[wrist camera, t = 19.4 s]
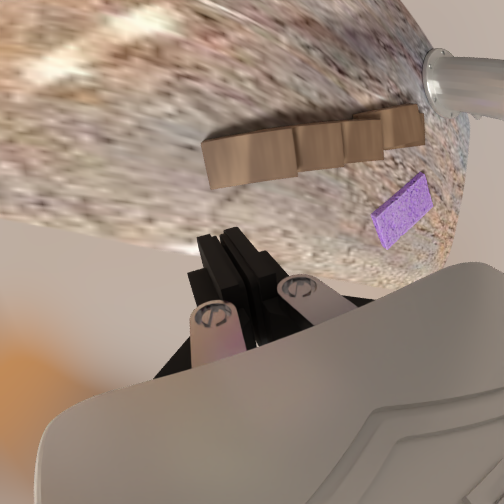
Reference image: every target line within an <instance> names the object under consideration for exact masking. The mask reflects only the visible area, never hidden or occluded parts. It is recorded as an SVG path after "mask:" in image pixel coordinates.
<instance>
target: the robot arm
mask: <svg viewBox="0 0 504 504" xmlns="http://www.w3.org/2000/svg"><path fill="white" fill-rule="evenodd" d="M423 84H424V89H425V93H426V96H427V98H428V101H429V103H430V105H431V106H432V108H433V109H434V111H435V112H436V113H437V114H438V115H440V116H441V117H443V118H448V119H452V118H455V117H457V116H458V115H459V114H460V112H465V113H470V114H471V115H472V116H473V117H474V118H475V119H477V120H478V119H480V118H481V117H482V116H486V117H490V118H495V119H499V120H504V60H499V59H488V58H470V57H469V58H468V57H454V56H453V55H452V54H451V53H450V52H448V51H447V50H445V49H441V48H437V49H432V50H431V51H429V52H428V54H427V55H426V57H425V60H424V64H423ZM220 242H221V243H220ZM220 242H219V240H218V238H217V237H216V236H213V237H211V235H210V234H207V235H203V236H200V237H197V243H198V247H199V251H200V255H201V259H202V263H203V267H204V268H202V269H200V270H196V271H192V272H189V273H187V274H188V278H189V281H190V285H191V288H192V292H193V295H194V298H195V301H196V304H197V308H196V309H194V310H193V312H192V314H191V316H190V337H189V338H188V339H187V340H186V341H185V342H184V343H183V345H182V346H181V347H180V348H179V349H178V351H177V352H176V353H175V354H174V355H173V356H172V357H171V359H170V360H169V361H168V362H167V363H166V365H165V366H164V367H163V368H162V369H161V371H160V372H159V373H158V374H157V375H156V376H155V377H154V378H153V380H149V381H146V382H142V383H138V384H135V385H131V386H127V387H123V388H120V389H116V390H112V391H109V392H106V393H103V394H99V395H96V396H93V397H91V398H89V399H87V400H84V401H82V402H79V403H77V404H75V405H74V406H72V407H70V408H69V409H67V410H65V411H64V412H62V413H61V414H59V415H58V416H57V417H55V418H54V419H53V420H52V421H51V422H50V423H49V424H48V426H47V427H46V429H45V431H44V433H43V435H42V438H41V441H40V444H39V448H38V453H37V459H36V466H35V476H34V504H504V273H502V272H501V271H499V270H497V269H495V268H493V267H492V266H490V265H487V264H485V263H480V262H468V263H460V264H456V265H452V266H449V267H446V268H444V269H441V270H439V271H437V272H434V273H432V274H430V275H428V276H426V277H424V278H421V279H419V280H417V281H415V282H413V283H411V284H409V285H407V286H405V287H403V288H401V289H399V290H397V291H394V292H393V293H390V294H388V295H386V296H384V297H381V298H379V299H377V300H373V299H366V298H358V297H350V296H343V295H340V294H339V293H337V292H336V291H335V290H333V289H332V288H330V287H329V286H327V285H326V284H325V283H323V282H322V281H320V280H319V279H317V278H315V277H313V276H310V275H306V274H298V275H292V276H289V275H288V274H287V273H286V272H285V271H284V270H283V269H282V268H281V266H280V265H279V264H278V263H277V262H276V261H275V260H274V259H273V257H272V256H271V255H270V254H269V253H268V252H267V251H266V250H265V251H261V252H258V251H257V249H256V248H255V247H254V246H253V245H252V244H251V242H250V241H249V240H248V239H247V238H246V236H245V235H244V234H243V233H242V232H241V230H240V229H239V228H238V227H233V228H229V229H226V230H224V234H221V235H220ZM256 342H257V344H258V346H259V347H257V346H256Z"/></svg>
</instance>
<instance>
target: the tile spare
mask: <svg viewBox="0 0 504 504" xmlns="http://www.w3.org/2000/svg"><path fill="white" fill-rule="evenodd" d="M419 116H420V121H421V126H422V132H423V138H424V140H421V141H416V142H412V143H407V144H403V145H399V146H395V147H391V148H386V149H383V150H390V149H397V148H405V147H413V146H421V145H425V127H424V113H419Z"/></svg>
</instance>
